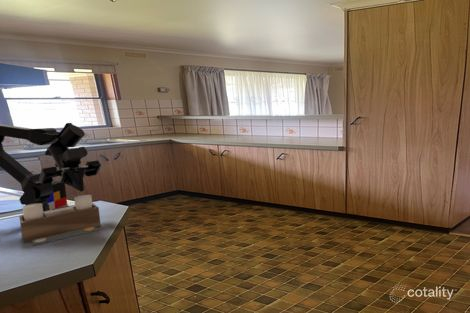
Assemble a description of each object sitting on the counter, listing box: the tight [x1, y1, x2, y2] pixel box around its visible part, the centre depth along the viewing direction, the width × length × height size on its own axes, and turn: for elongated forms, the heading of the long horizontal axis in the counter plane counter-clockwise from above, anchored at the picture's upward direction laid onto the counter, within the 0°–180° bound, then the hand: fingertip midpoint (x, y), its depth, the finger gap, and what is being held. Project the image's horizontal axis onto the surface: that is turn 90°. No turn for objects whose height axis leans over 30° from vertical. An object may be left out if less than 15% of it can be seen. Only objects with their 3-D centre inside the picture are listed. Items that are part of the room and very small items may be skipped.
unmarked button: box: [22, 203, 44, 221], centre depth 95 cm, size 5×5×6 cm
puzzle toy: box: [46, 180, 68, 210], centre depth 128 cm, size 10×10×10 cm
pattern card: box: [31, 226, 98, 247], centre depth 94 cm, size 4×17×1 cm, turn 127°
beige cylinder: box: [74, 194, 93, 211], centre depth 103 cm, size 5×5×6 cm
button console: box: [18, 202, 101, 244], centre depth 99 cm, size 9×21×6 cm, turn 127°
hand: (82, 190), depth 103 cm, fingers closed
